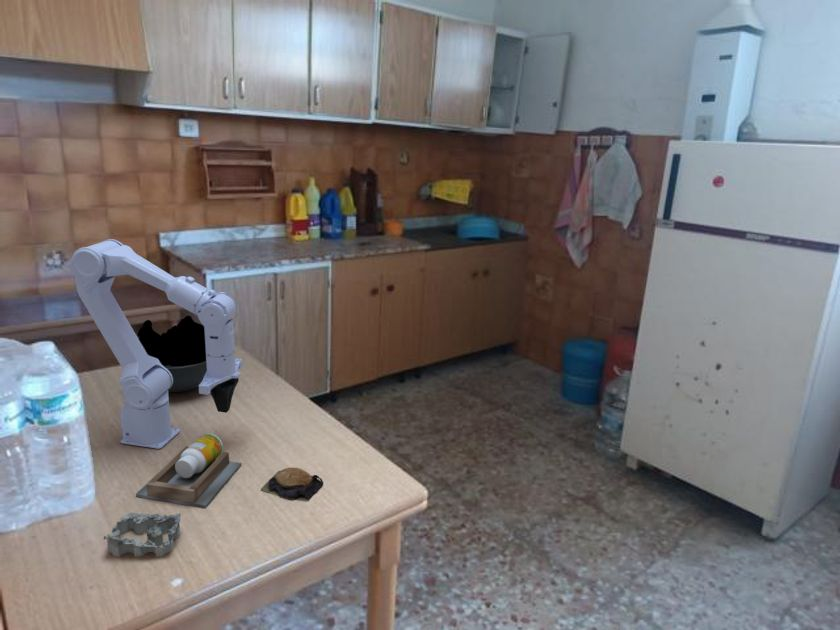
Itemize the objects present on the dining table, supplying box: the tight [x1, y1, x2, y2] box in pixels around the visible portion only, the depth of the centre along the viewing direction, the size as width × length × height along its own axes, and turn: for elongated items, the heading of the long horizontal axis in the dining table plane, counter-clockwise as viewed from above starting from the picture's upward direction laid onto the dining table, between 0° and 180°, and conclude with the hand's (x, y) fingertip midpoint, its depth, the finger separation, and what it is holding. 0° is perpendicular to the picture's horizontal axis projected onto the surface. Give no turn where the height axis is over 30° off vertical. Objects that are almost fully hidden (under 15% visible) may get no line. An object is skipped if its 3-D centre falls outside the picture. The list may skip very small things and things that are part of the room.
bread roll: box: [260, 467, 324, 503], centre depth 114 cm, size 11×8×4 cm
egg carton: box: [103, 512, 181, 558], centre depth 97 cm, size 11×8×4 cm
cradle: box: [135, 446, 242, 509], centre depth 114 cm, size 14×14×3 cm
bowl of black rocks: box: [136, 315, 207, 393], centre depth 149 cm, size 20×20×19 cm
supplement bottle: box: [175, 433, 224, 478], centre depth 117 cm, size 5×5×10 cm
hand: (223, 410), depth 125 cm, fingers closed
